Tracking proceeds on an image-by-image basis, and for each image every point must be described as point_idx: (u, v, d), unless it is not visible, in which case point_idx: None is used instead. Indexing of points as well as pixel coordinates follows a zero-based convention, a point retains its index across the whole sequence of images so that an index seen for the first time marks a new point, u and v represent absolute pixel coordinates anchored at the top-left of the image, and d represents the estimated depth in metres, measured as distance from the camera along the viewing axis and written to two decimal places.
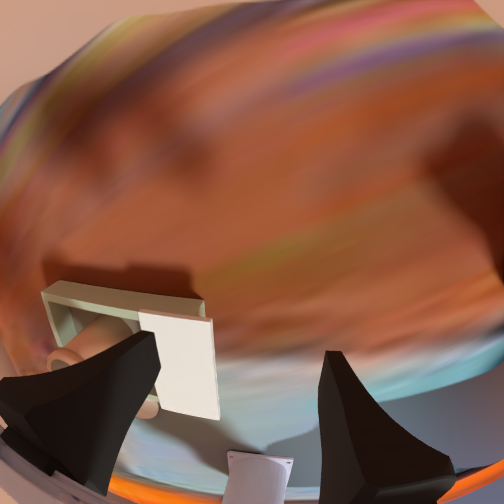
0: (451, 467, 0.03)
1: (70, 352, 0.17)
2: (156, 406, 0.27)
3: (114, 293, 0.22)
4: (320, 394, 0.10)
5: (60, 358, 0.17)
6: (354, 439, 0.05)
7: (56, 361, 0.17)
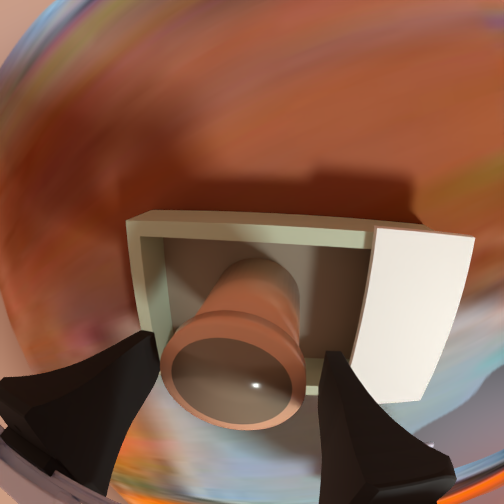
0: (451, 467, 0.03)
1: (248, 316, 0.10)
2: None
3: (287, 216, 0.15)
4: (320, 394, 0.10)
5: (222, 335, 0.09)
6: (354, 439, 0.05)
7: (204, 342, 0.09)
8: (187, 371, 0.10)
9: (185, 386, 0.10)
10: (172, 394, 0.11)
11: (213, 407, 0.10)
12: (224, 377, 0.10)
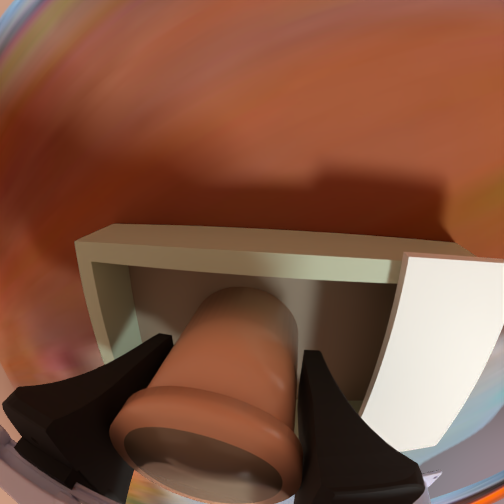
0: (418, 475, 0.04)
1: (218, 401, 0.06)
2: None
3: (283, 235, 0.11)
4: (299, 393, 0.10)
5: (180, 427, 0.05)
6: (319, 439, 0.05)
7: (157, 431, 0.06)
8: (143, 452, 0.06)
9: (145, 463, 0.06)
10: (132, 466, 0.07)
11: (183, 486, 0.07)
12: (190, 466, 0.06)
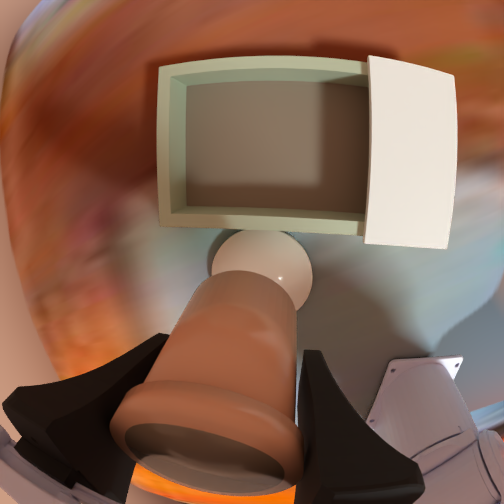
0: (418, 475, 0.04)
1: (218, 395, 0.06)
2: (311, 282, 0.19)
3: None
4: (299, 393, 0.10)
5: (180, 423, 0.05)
6: (319, 439, 0.05)
7: (157, 426, 0.06)
8: (144, 447, 0.06)
9: (147, 456, 0.07)
10: (134, 459, 0.07)
11: (185, 477, 0.07)
12: (192, 459, 0.06)
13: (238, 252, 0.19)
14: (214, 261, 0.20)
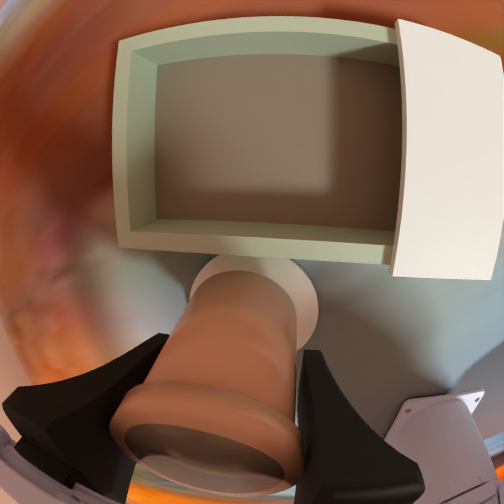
0: (418, 475, 0.04)
1: (218, 396, 0.06)
2: (316, 317, 0.15)
3: None
4: (299, 393, 0.10)
5: (180, 424, 0.05)
6: (319, 439, 0.05)
7: (157, 427, 0.06)
8: (144, 447, 0.06)
9: (146, 457, 0.07)
10: (134, 459, 0.07)
11: (185, 477, 0.07)
12: (192, 459, 0.06)
13: None
14: (192, 289, 0.15)
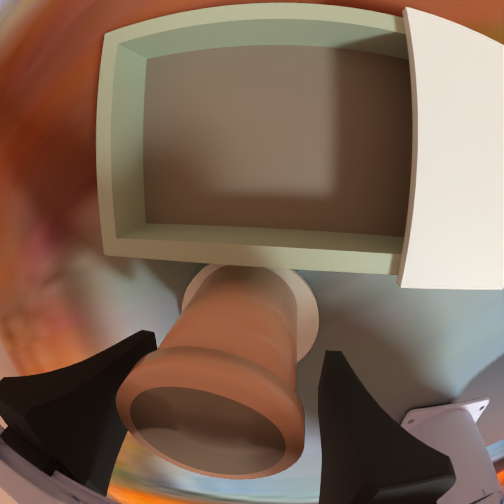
0: (451, 467, 0.03)
1: (223, 358, 0.07)
2: (316, 329, 0.14)
3: None
4: (320, 394, 0.10)
5: (188, 384, 0.06)
6: (354, 439, 0.05)
7: (164, 391, 0.06)
8: (149, 419, 0.07)
9: (150, 433, 0.07)
10: (137, 438, 0.07)
11: (187, 456, 0.07)
12: (196, 430, 0.07)
13: None
14: (184, 299, 0.14)
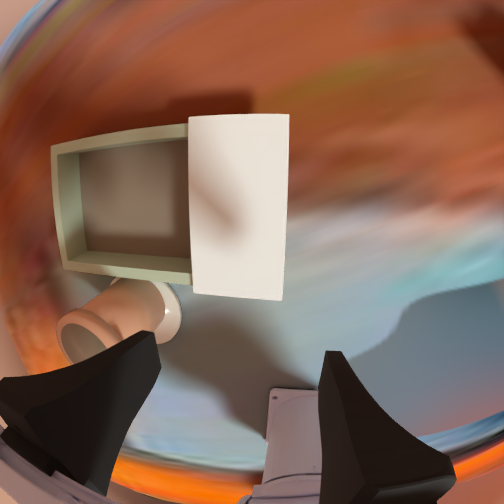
0: (451, 467, 0.03)
1: (88, 313, 0.15)
2: (178, 316, 0.22)
3: None
4: (320, 394, 0.10)
5: (74, 321, 0.15)
6: (354, 439, 0.05)
7: (69, 325, 0.15)
8: (67, 342, 0.15)
9: (70, 352, 0.16)
10: (66, 357, 0.16)
11: None
12: (82, 347, 0.15)
13: None
14: None
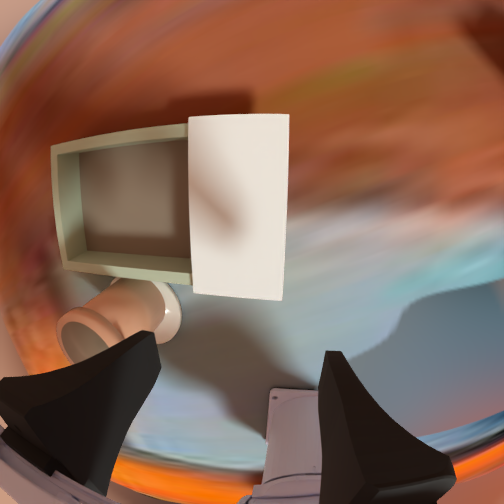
0: (451, 467, 0.03)
1: (89, 311, 0.15)
2: (178, 316, 0.22)
3: None
4: (320, 394, 0.10)
5: (75, 320, 0.15)
6: (354, 439, 0.05)
7: (69, 324, 0.15)
8: (68, 341, 0.15)
9: (70, 351, 0.16)
10: (66, 356, 0.16)
11: None
12: (82, 346, 0.15)
13: None
14: None
